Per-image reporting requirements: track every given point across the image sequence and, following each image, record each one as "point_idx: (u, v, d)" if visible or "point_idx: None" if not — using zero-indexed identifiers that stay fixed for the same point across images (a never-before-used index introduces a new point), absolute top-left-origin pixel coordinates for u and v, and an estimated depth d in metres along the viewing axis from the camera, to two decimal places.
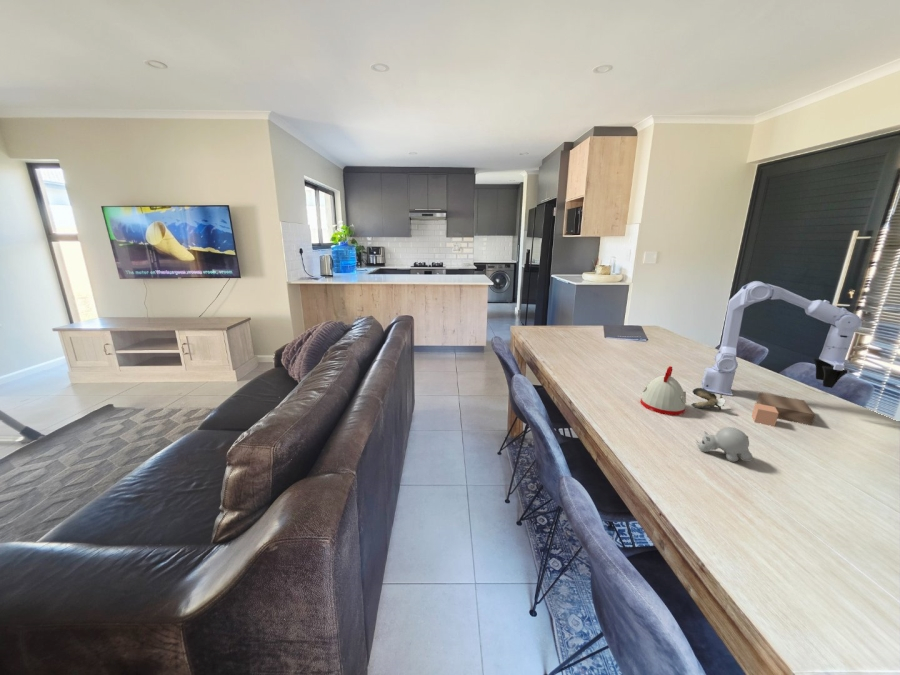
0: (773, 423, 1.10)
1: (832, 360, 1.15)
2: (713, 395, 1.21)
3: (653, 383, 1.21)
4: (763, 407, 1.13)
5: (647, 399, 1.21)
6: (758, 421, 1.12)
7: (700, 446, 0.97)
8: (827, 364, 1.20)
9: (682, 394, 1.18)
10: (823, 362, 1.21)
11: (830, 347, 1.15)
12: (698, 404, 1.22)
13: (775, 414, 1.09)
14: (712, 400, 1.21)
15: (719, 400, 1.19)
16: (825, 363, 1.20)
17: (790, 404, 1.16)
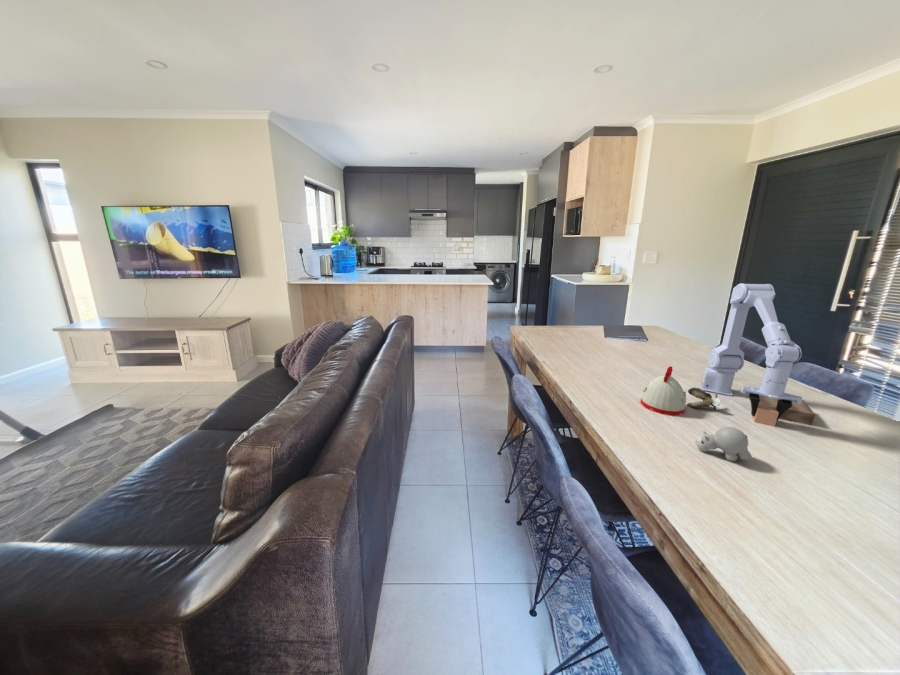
0: (773, 423, 1.10)
1: (759, 389, 1.12)
2: (708, 395, 1.21)
3: (653, 383, 1.21)
4: (763, 406, 1.13)
5: (647, 399, 1.21)
6: (758, 421, 1.12)
7: (699, 446, 0.97)
8: (779, 403, 1.10)
9: (682, 394, 1.18)
10: (779, 401, 1.10)
11: None
12: (693, 404, 1.22)
13: (775, 414, 1.09)
14: (707, 400, 1.21)
15: (715, 400, 1.19)
16: (779, 402, 1.10)
17: None
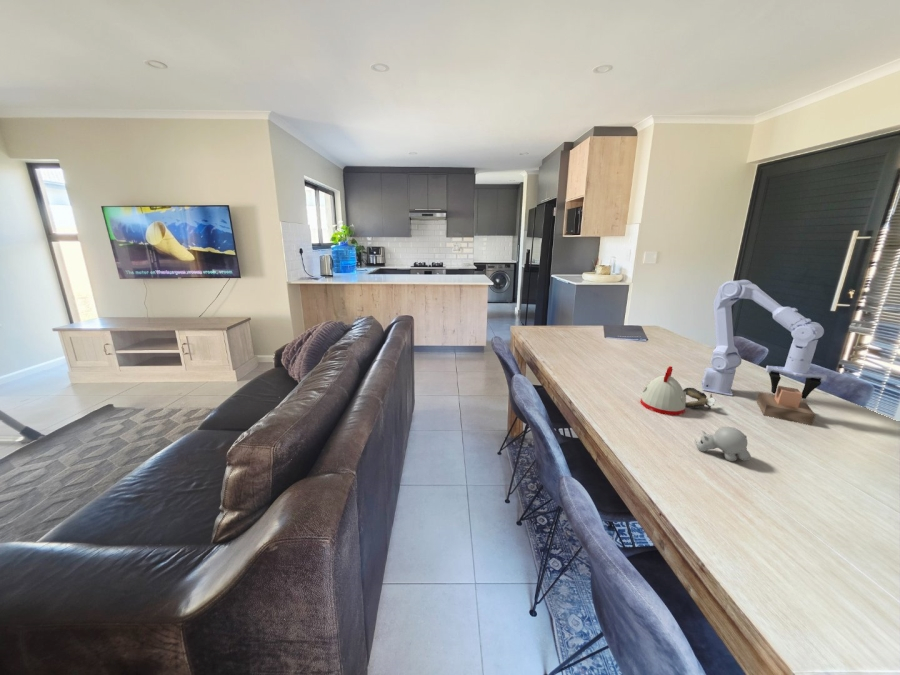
0: (796, 404, 1.14)
1: (783, 368, 1.16)
2: (703, 394, 1.21)
3: (653, 383, 1.21)
4: (786, 389, 1.17)
5: (647, 399, 1.21)
6: (782, 403, 1.16)
7: (698, 446, 0.97)
8: (808, 382, 1.13)
9: (682, 394, 1.18)
10: (807, 379, 1.14)
11: None
12: (688, 404, 1.23)
13: (799, 395, 1.13)
14: (702, 399, 1.21)
15: (709, 399, 1.19)
16: (808, 380, 1.13)
17: None
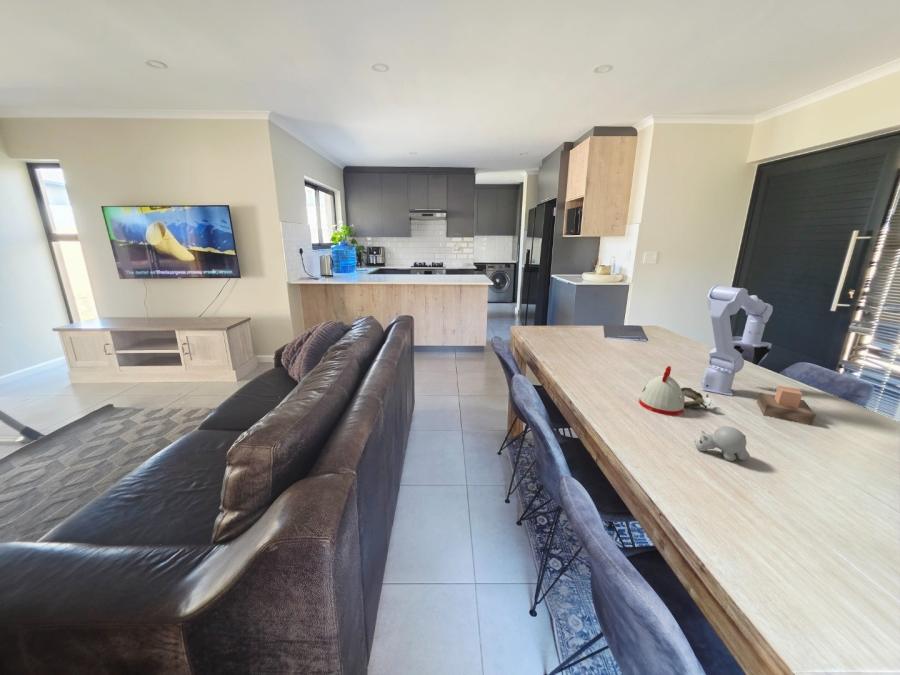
0: (796, 404, 1.14)
1: (741, 341, 1.38)
2: (699, 394, 1.21)
3: (652, 383, 1.21)
4: (786, 389, 1.17)
5: (646, 399, 1.21)
6: (782, 403, 1.16)
7: (698, 445, 0.97)
8: (759, 350, 1.37)
9: (681, 394, 1.18)
10: (757, 348, 1.38)
11: None
12: (684, 403, 1.23)
13: (799, 395, 1.13)
14: (698, 399, 1.21)
15: (705, 399, 1.19)
16: (758, 349, 1.37)
17: None
